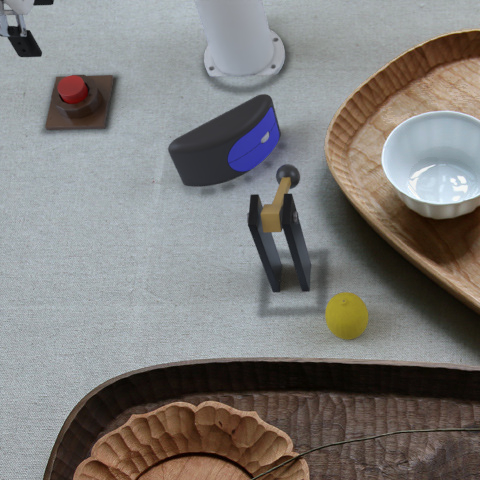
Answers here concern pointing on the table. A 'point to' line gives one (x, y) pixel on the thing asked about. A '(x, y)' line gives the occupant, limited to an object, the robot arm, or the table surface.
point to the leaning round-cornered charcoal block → (227, 144)
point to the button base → (81, 106)
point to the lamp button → (72, 89)
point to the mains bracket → (268, 247)
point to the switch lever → (279, 198)
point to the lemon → (346, 315)
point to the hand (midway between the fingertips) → (37, 29)
